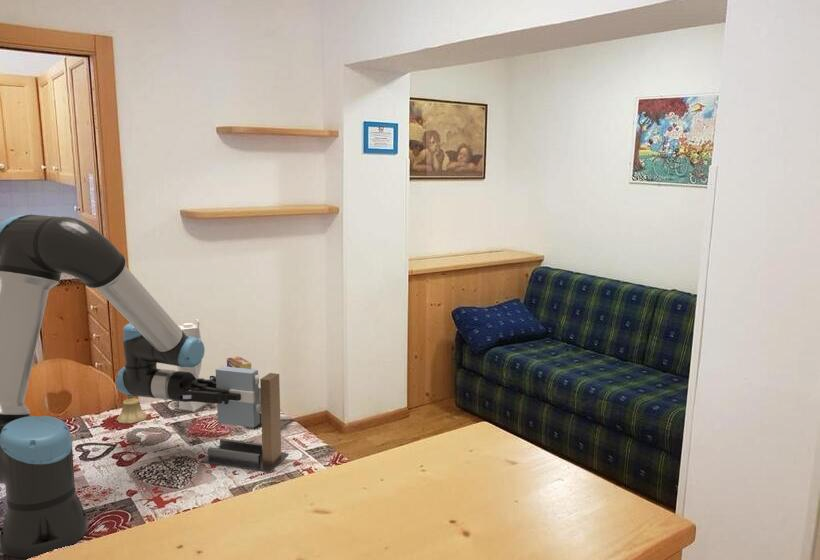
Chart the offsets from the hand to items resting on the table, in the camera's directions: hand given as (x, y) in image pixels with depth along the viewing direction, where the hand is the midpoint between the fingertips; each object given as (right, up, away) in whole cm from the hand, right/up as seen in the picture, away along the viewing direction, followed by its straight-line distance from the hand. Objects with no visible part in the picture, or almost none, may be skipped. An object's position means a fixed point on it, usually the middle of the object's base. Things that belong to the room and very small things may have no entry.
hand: (257, 394), depth 158 cm
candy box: (-14, -11, +37) cm, 41 cm away
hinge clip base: (-4, -17, +4) cm, 18 cm away
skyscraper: (-29, -11, +37) cm, 48 cm away
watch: (-7, -13, +25) cm, 29 cm away
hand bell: (-43, -12, +29) cm, 53 cm away
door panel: (-5, -8, +3) cm, 10 cm away
